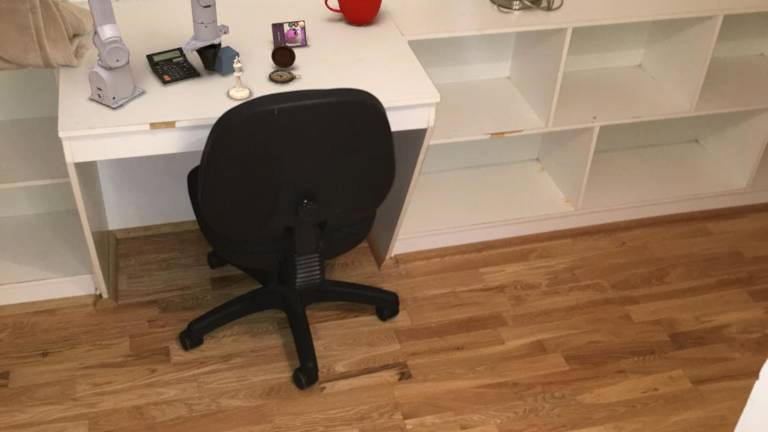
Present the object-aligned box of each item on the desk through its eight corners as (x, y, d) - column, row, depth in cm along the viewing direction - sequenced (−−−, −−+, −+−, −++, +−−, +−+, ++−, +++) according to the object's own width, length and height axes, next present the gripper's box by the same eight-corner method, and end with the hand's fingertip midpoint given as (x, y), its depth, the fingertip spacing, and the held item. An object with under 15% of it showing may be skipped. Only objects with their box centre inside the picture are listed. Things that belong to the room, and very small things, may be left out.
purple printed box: (272, 23, 207) (305, 20, 209) (268, 21, 211) (300, 18, 214) (274, 49, 209) (307, 46, 212) (270, 47, 214) (303, 43, 216)
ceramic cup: (317, 15, 227) (317, -18, 221) (371, 8, 233) (373, -24, 227) (332, 35, 218) (332, 1, 212) (388, 27, 224) (390, -6, 218)
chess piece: (224, 94, 191) (221, 57, 185) (238, 86, 194) (236, 50, 188) (240, 101, 189) (237, 64, 183) (254, 93, 192) (251, 56, 186)
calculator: (164, 85, 193) (162, 74, 191) (147, 64, 200) (145, 54, 198) (200, 76, 197) (199, 65, 195) (182, 56, 204) (180, 46, 202)
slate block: (223, 76, 198) (222, 58, 194) (212, 68, 200) (211, 50, 197) (240, 70, 200) (239, 52, 197) (229, 62, 203) (228, 45, 200)
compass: (267, 83, 196) (266, 57, 191) (272, 68, 202) (271, 42, 198) (299, 86, 196) (298, 60, 191) (303, 70, 202) (303, 45, 197)
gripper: (197, 34, 181) (202, 86, 190) (237, 12, 191) (240, 63, 200) (174, 26, 184) (180, 77, 192) (214, 5, 194) (218, 55, 202)
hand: (209, 69), depth 196 cm, fingers closed
